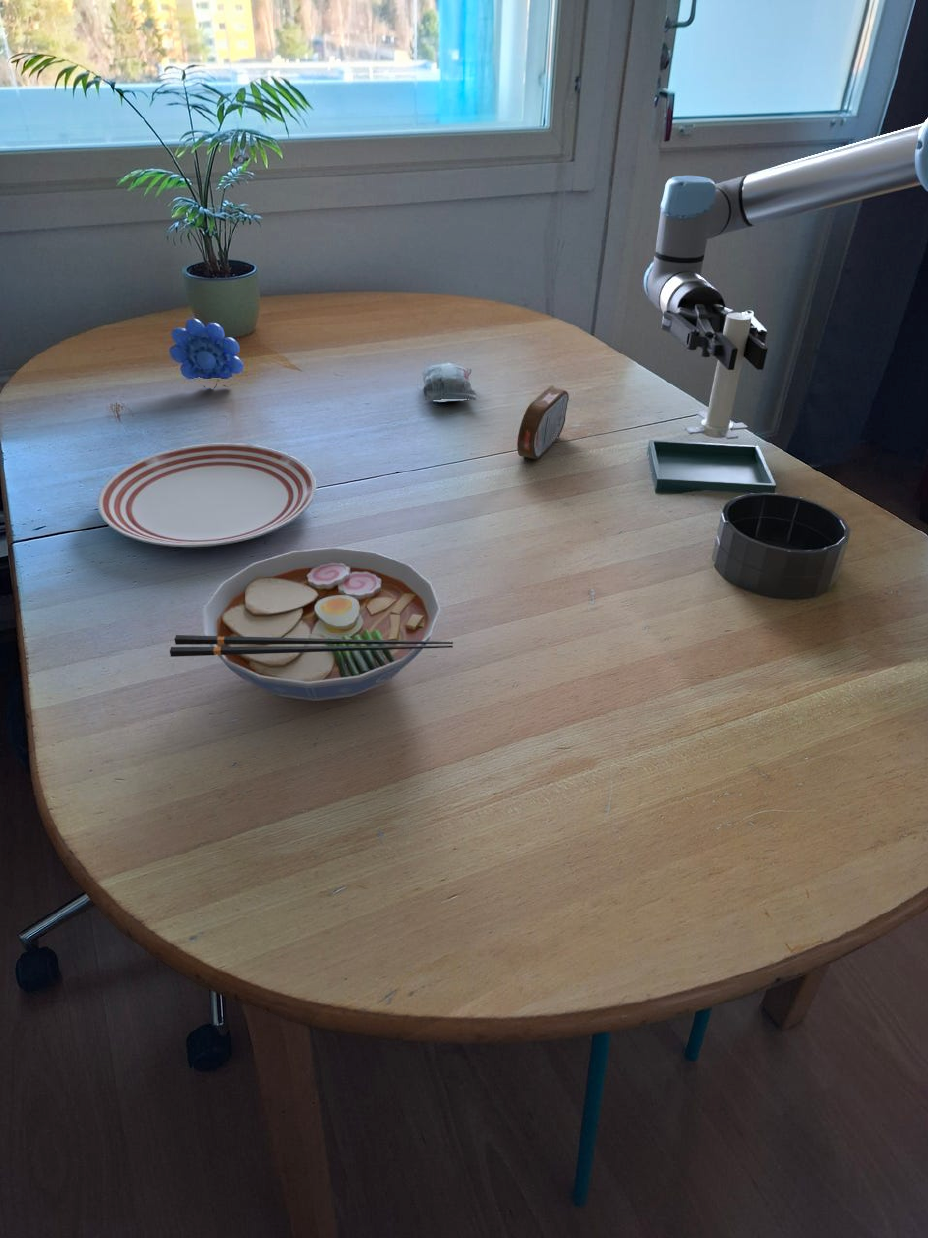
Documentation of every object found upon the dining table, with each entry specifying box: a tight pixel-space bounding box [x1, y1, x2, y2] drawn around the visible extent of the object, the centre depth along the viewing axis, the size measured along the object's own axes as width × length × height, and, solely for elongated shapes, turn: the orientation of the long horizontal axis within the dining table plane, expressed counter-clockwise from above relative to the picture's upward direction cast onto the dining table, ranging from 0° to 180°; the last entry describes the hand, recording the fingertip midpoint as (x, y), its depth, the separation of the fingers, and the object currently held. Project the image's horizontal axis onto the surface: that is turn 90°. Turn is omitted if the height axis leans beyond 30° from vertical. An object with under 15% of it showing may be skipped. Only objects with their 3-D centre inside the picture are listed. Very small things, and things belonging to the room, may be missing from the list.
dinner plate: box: [97, 442, 318, 548], centre depth 114 cm, size 27×27×3 cm
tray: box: [647, 439, 778, 495], centre depth 126 cm, size 16×13×2 cm
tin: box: [516, 385, 570, 460], centre depth 130 cm, size 15×3×8 cm, turn 155°
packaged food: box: [422, 362, 478, 403], centre depth 148 cm, size 9×12×5 cm
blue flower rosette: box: [168, 317, 244, 380], centre depth 145 cm, size 12×7×12 cm, turn 102°
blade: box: [684, 312, 752, 440], centre depth 118 cm, size 9×9×16 cm
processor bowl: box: [711, 492, 851, 601], centre depth 103 cm, size 14×14×7 cm
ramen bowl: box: [169, 546, 454, 702], centre depth 86 cm, size 25×23×8 cm
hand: (747, 359), depth 111 cm, fingers closed on blade, 3 cm apart
